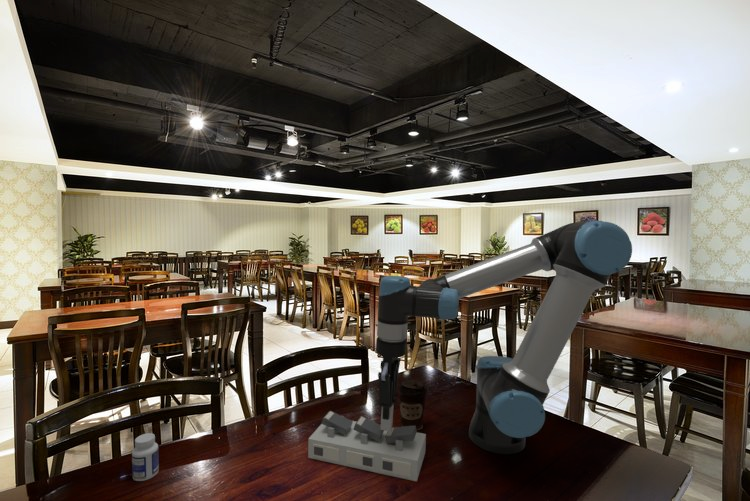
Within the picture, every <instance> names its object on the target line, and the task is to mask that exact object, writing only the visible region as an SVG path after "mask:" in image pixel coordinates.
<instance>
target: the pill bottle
mask: <svg viewBox="0 0 750 501" xmlns="http://www.w3.org/2000/svg"><path fill="white" fill-rule="evenodd" d="M159 456H160V455H159V444H158V443H157V442H156V436H155V434H154V433H151V432H150V433H148V432H147V433H143V434H140V435H139V436H137V437H136V438H134V448H133V450H132V451H131V465H132V466H131V467H132V468H131V469H132V470H131V473H132V479H133V481H136V482H145V481H148V480H150V479H152V478H154V477H155V476H156V475H157V474H158V473H159V471H160V470H159V469H160V466H159V465H160V463H159V461H160V460H159V459H160V458H159Z"/></svg>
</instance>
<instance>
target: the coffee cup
mask: <svg viewBox="0 0 750 501" xmlns="http://www.w3.org/2000/svg"><path fill="white" fill-rule="evenodd" d="M398 392H399V409H400V410H399V411H400V423H401V427H404V426H414V425H415V426H416V430H417V431H419V430H422V429H423V426H424V424H423V419H424V413H425V407H426V395H427V393H428V387H427V386H426V382H424V381H422V380H420V379H419V380H418V379H407V380H404V381H402V382H401V384H400V386H399V388H398Z"/></svg>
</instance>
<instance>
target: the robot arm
mask: <svg viewBox="0 0 750 501" xmlns="http://www.w3.org/2000/svg"><path fill="white" fill-rule="evenodd" d="M632 254H633V245H632V241H631V239H630V237H629V235H628V232H626V230H624V228H622V227H621V226H619V225H618V224H616V223H613V222H610V221H603V220H590V221H584V222H583V221H582V222H580V221H579V222H577V221H576V222H570V223H567V224H565V225H562V226H559V227H558V228H555V229H554V230H551V231H548V232H546V233H544V234H541V235H539V236H537V237H535V238H532V241H531V242H530V243H529V244H526V245H524V246H521V247H518V248H515V249H511V250H510V251H507V252H504V253H502V254H498V255H496V256H493V257H490V258H487V259H484V260H482V261H479V262H476V263H474V264H471V265H469V266H466V267H463V268H460V269H458V270H455V271H452V272H450V273H446V274H444V275H441V276H439V277H435V278H427V279H425V280H424V281H422V282H421V283H420V284H419V285H418V286H417V285H412V284H411V280H410V278H409V277H407V276H400V275H385V276H383V277H381V279H380V281H379V292H378V303H377V304H378V306H377V309H378V310H377V322H375V327H377V329H376V330H377V331H376V335H377V338H376V344H375V352H376V354H377V355H379V356H381V357H382V360H381V361H380V369H381V370H380V371H378V374H377V378H378V399H379V400H378V406H379V407H381V410H380V412H381V414H380V415H381V416H380V425H381V428H380V430H385V431H389V432H391V430H392V428H393V423H394V422H393V420H394V404H397V403H398V400H397V399H395V398H396V397H397V389H398V383H399V380H398V379H399V373H400V372H399V371H400V363H401V357H404V356H405V355H406V352H407V340H406V339H407V338H408V326H409V325H408V324H409V322H408V318H409V317H418V318H431V319H440V320H454V319H456V318H457V317H458V314H459V305H460V304H459V301H460V299H463V298H465V297H467V296H471V295H473V294H476V293H480V292H481V291H482V292H483V291H485V290H487V289H491V288H493V287H495V286H499V285H501V284H502V285H503V284H504V283H507V282H509V281H510V282H511V281H513V280H516V279H519V278H521V277H524V276H527V275H530V274H533V273H536V272H538V271H545V272H551V271H552V270H553V271H555V277H554V278H553V280H552V282H551V284H550V285H549V288H548V290H547V291H546V294H545V296H544V298H543V300H542V302H541V304H540V305H539V307H538V309H537V311H536V313H535V316H534V317H533V319H532V321H531V323H530V325H529V327H528V329H527V330H526V331H527V332H526V333H525V335H524V337H523V338H522V340H521V343H520V345H519V346H518V349H517V351H516V353H515V355H514V356H513V358H512V357H506V356H500V355H498V356H497V355H486V356H481V357H480V358H479V359H478V360H477V367H476V399H475V400H476V401H475V404H476V405H475V411H474V413H473V416H472V418H471V420H470V424H469V426H468V427H469V428H468V437H469V440H471V442H472V443H473V444H474V445H475V446H477V447H479V448H480V449H483V450H485V451H487V452H490V453H493V454H494V453H495V454H498V455H513V454H518V453H520V452H522V451H523V450H524V449H525V447H526V438H528V437H531V436H532V437H533V435H535V434H537V433H538V432H539V431H541V429H542V427H543V426H544V424H545V420H546V412H545V408H544V403H545V401H546V399H547V397H548V395H549V393H550V391H551V389H550V387H549V384H548V379H549V378H550V375H551V373H552V371H553V370H554V369H555V366H556V364H557V362H558V360H559V358H560V356H561V355H562V352H563V350H564V348H565V347H566V345H567V343H568V340H569V339H570V337H571V335H572V334H573V331H574V329H575V328H576V325H577V324H578V322H579V320H580V318H581V316H582V314H583V312H584V310H585V308H586V306H587V304H588V302H589V300H590V298H591V297H592V295H593V293H594V292H595V291H596V290H600V289H601V288H605V286H606V285H607V283H608V282H609V279H610V277H611V276H612V274H613V275H614V274H616V273H618V272H620V271H622V270H624V268H625V267H626V266H628V264H629V262H630V260H631V258H632Z"/></svg>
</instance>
